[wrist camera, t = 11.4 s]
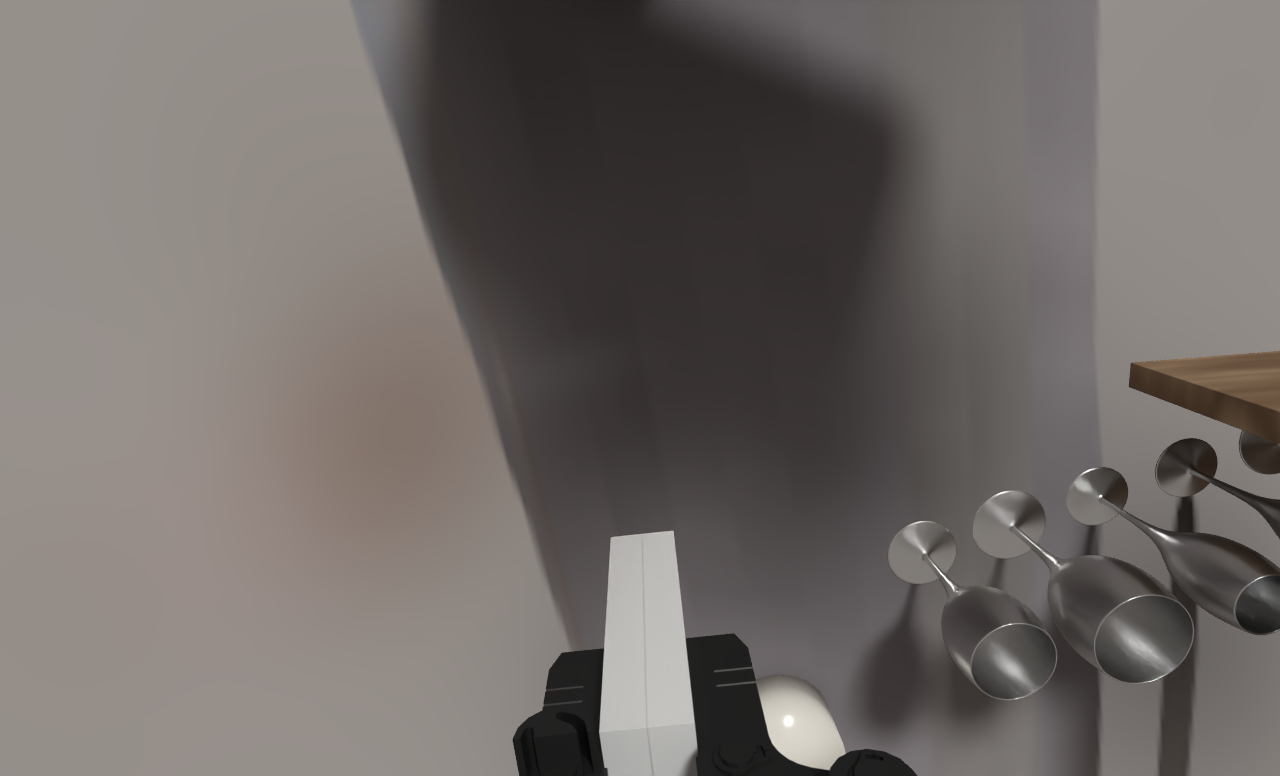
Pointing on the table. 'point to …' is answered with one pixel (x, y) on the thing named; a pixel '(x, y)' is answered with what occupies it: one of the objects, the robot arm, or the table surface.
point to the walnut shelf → (1219, 388)
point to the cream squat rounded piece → (799, 721)
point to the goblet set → (1099, 579)
